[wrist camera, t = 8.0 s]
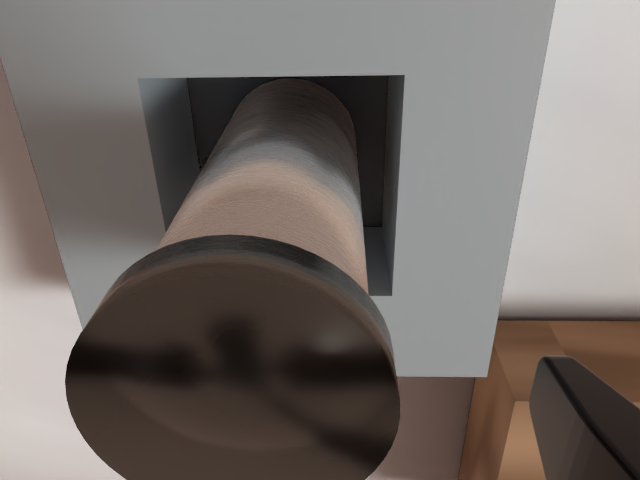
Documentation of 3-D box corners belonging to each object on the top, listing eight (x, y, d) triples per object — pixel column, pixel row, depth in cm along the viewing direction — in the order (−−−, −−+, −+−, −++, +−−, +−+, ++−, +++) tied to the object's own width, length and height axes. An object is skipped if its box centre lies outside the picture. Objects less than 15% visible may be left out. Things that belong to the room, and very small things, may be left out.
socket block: (461, 298, 20) (487, 377, 16) (137, 297, 20) (96, 374, 17) (513, -83, 14) (571, -87, 10) (52, -73, 14) (-40, -73, 11)
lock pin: (363, 207, 18) (391, 518, 9) (227, 208, 18) (105, 513, 9) (367, 66, 16) (411, 276, 6) (211, 68, 16) (22, 275, 6)
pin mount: (675, 493, 25) (730, 584, 21) (456, 490, 25) (475, 579, 22) (759, 321, 20) (848, 404, 16) (484, 320, 20) (515, 401, 17)
